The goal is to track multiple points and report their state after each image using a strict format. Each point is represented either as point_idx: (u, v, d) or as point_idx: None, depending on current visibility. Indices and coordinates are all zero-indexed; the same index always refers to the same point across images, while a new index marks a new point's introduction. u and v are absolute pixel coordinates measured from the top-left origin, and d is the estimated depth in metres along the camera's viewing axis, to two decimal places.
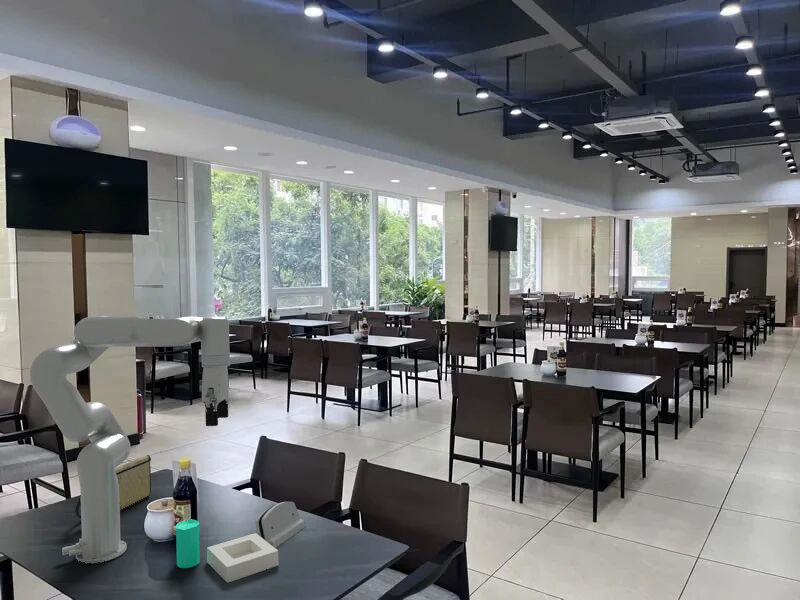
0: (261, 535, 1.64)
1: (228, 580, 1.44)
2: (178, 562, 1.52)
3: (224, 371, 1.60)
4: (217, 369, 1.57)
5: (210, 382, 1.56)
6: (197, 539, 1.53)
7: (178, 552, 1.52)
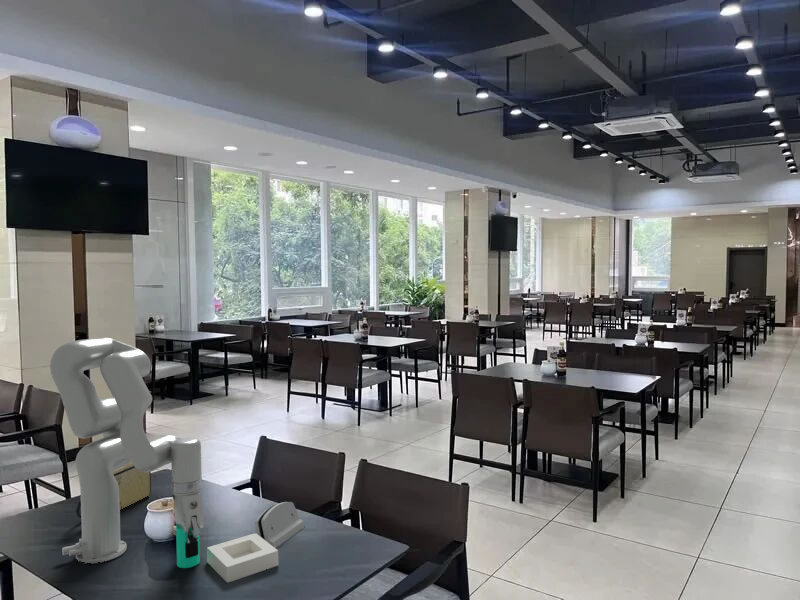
0: (261, 536, 1.64)
1: (228, 580, 1.44)
2: (178, 562, 1.52)
3: (177, 497, 1.53)
4: None
5: None
6: None
7: (178, 552, 1.52)
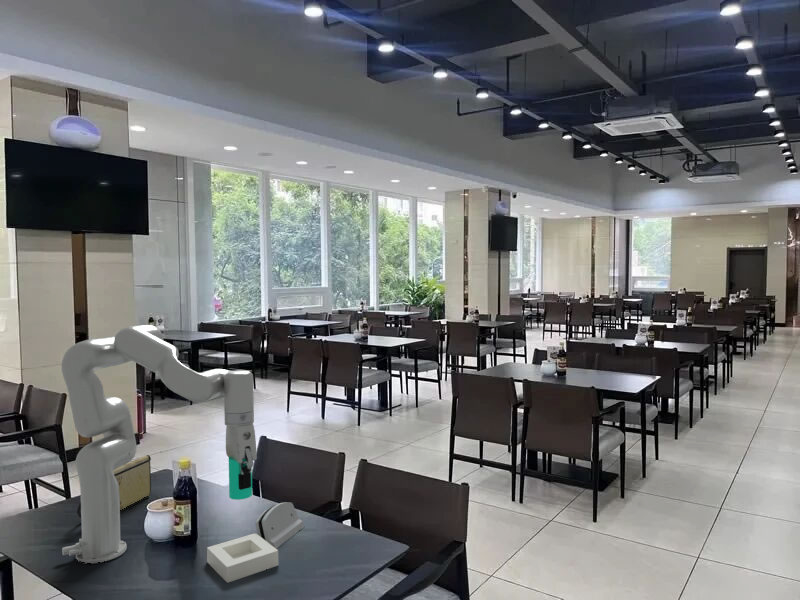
0: (261, 536, 1.63)
1: (228, 580, 1.44)
2: (231, 494, 1.51)
3: (229, 429, 1.51)
4: None
5: None
6: None
7: (231, 484, 1.50)
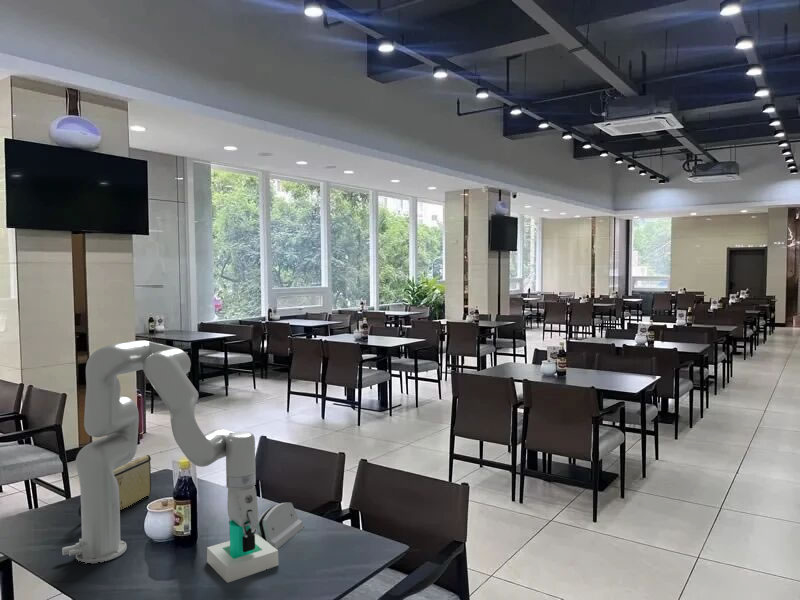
0: (262, 537, 1.63)
1: (228, 580, 1.44)
2: None
3: (231, 492, 1.52)
4: None
5: None
6: None
7: (232, 549, 1.51)
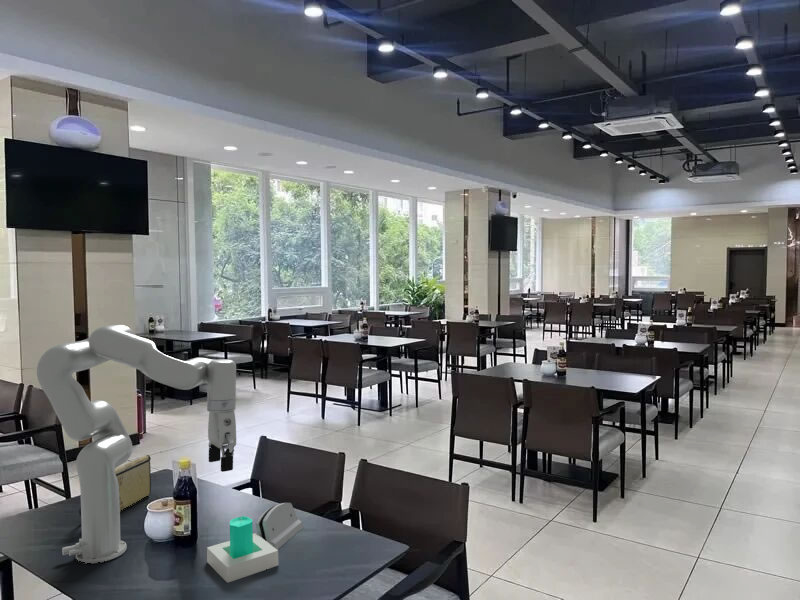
0: (262, 537, 1.63)
1: (228, 580, 1.44)
2: None
3: (211, 415, 1.58)
4: None
5: None
6: (251, 536, 1.52)
7: (232, 549, 1.51)
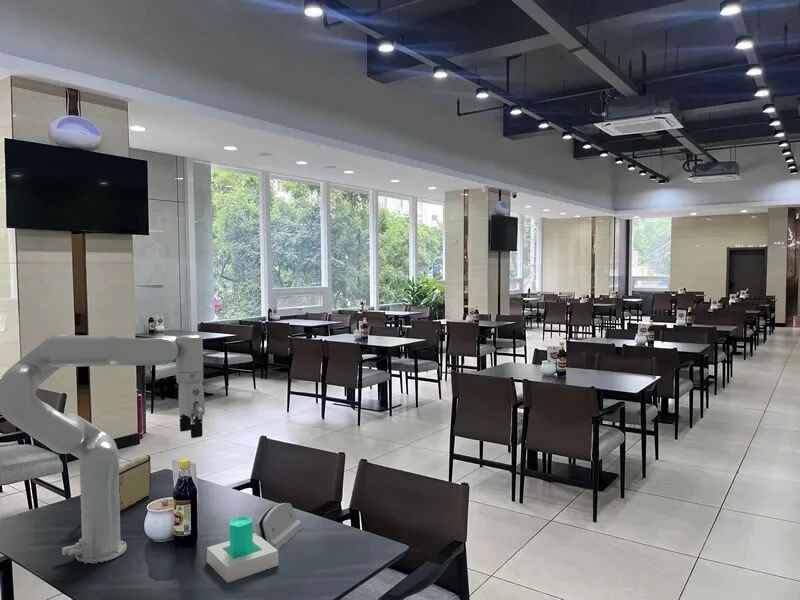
0: None
1: (228, 580, 1.44)
2: None
3: (180, 387, 1.70)
4: None
5: None
6: (251, 536, 1.52)
7: (232, 549, 1.51)
